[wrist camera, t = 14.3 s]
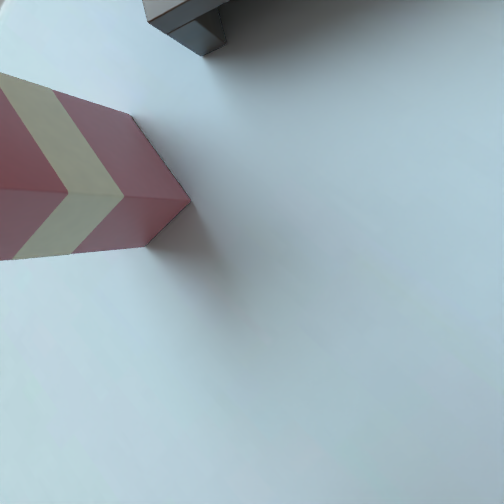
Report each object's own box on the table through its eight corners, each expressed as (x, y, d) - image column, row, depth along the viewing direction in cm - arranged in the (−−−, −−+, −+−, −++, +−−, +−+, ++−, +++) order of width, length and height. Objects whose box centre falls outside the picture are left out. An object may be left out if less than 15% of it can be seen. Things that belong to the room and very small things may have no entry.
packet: (192, 201, 21) (0, 188, 12) (144, 247, 23) (-62, 268, 14) (129, 113, 23) (-91, 41, 13) (86, 162, 24) (-141, 128, 15)
